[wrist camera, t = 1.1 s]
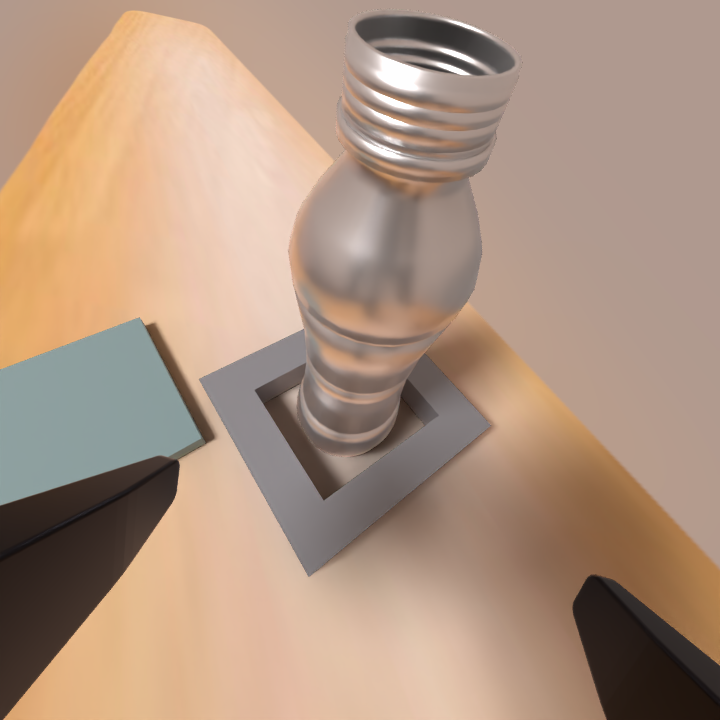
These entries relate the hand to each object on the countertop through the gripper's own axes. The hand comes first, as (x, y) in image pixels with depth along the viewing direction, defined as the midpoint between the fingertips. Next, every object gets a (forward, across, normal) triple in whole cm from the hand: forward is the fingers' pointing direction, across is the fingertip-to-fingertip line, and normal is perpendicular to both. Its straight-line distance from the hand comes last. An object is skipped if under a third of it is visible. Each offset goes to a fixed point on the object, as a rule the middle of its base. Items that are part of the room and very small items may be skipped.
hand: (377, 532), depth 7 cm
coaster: (+12, +17, +8) cm, 23 cm away
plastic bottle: (+16, +2, +5) cm, 17 cm away
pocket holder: (+16, +2, +5) cm, 16 cm away
